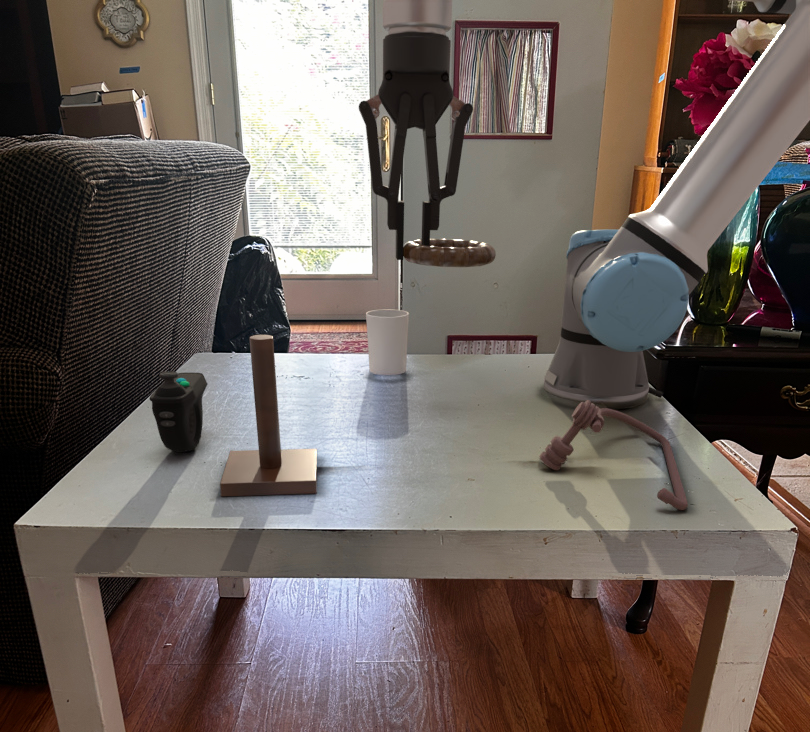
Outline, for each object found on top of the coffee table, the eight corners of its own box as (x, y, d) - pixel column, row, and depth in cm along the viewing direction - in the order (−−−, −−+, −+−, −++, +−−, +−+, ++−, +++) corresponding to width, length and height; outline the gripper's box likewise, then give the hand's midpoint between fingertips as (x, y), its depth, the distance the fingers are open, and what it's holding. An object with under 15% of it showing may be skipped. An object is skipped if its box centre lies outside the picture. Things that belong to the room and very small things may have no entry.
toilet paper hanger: (698, 502, 78) (583, 425, 77) (644, 561, 82) (534, 489, 81) (676, 433, 97) (583, 371, 96) (632, 484, 101) (543, 425, 100)
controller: (154, 464, 90) (141, 379, 86) (182, 430, 102) (173, 353, 97) (191, 465, 90) (180, 379, 86) (215, 430, 101) (207, 353, 97)
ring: (485, 257, 103) (487, 239, 102) (501, 269, 93) (502, 249, 92) (399, 255, 102) (399, 237, 101) (405, 267, 92) (406, 247, 91)
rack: (317, 460, 92) (310, 326, 85) (316, 493, 83) (309, 347, 76) (231, 462, 91) (217, 327, 84) (221, 496, 82) (205, 348, 75)
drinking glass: (408, 382, 123) (408, 317, 118) (365, 382, 123) (364, 317, 118) (408, 371, 129) (409, 309, 124) (368, 371, 129) (367, 309, 124)
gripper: (481, 40, 90) (470, 255, 101) (346, 36, 89) (349, 254, 100) (492, 31, 84) (479, 263, 94) (346, 27, 82) (349, 262, 93)
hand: (412, 258), depth 97 cm, fingers closed on ring, 2 cm apart
